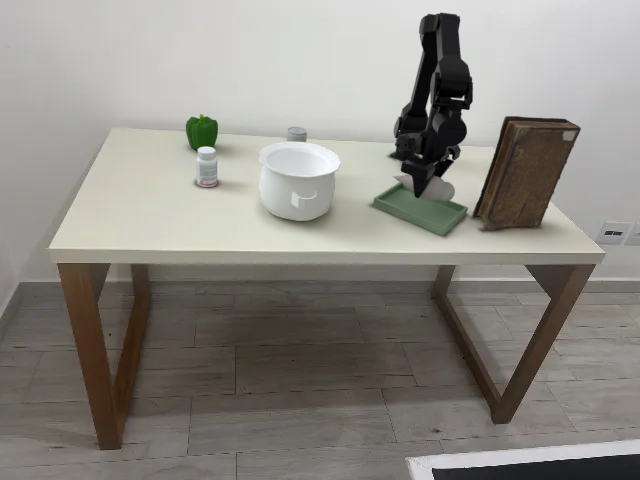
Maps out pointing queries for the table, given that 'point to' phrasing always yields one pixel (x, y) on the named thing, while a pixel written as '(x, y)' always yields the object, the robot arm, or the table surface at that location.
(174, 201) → the table surface
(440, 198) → the ice cream cone
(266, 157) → the pot
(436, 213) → the tray
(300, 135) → the beverage can
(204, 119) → the bell pepper
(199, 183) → the pill bottle
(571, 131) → the book
